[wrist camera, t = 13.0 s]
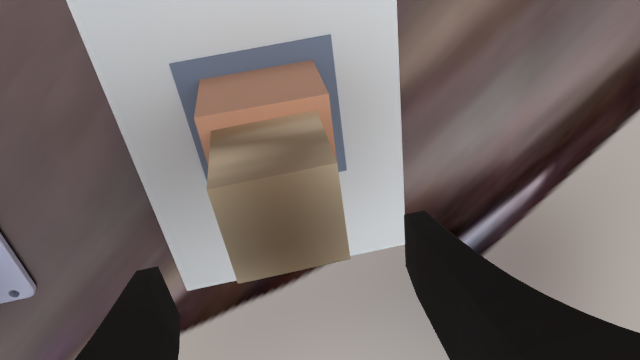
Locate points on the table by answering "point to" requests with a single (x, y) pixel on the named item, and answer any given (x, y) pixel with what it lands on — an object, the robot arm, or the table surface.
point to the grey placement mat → (240, 56)
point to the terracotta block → (261, 98)
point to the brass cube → (277, 196)
